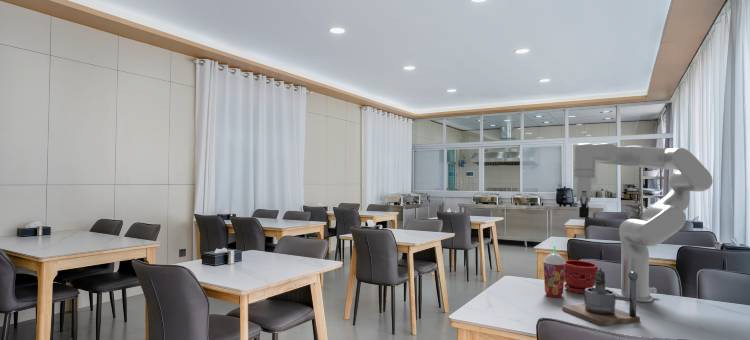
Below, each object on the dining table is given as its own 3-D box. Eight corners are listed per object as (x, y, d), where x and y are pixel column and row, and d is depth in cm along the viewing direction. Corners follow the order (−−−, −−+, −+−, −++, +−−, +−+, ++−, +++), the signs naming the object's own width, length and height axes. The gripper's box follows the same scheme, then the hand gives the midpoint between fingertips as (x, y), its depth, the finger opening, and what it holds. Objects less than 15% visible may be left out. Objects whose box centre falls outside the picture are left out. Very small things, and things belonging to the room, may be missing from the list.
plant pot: (559, 291, 181) (559, 263, 181) (567, 285, 192) (567, 258, 192) (593, 297, 173) (594, 267, 173) (600, 290, 184) (600, 262, 184)
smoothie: (566, 295, 176) (567, 246, 176) (563, 299, 169) (563, 248, 169) (545, 291, 180) (545, 243, 181) (540, 296, 173) (541, 246, 174)
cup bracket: (599, 306, 161) (599, 262, 161) (640, 321, 145) (640, 272, 145) (562, 310, 156) (562, 264, 156) (600, 326, 140) (600, 274, 140)
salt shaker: (593, 304, 148) (593, 269, 148) (588, 299, 154) (588, 265, 154) (612, 305, 147) (612, 270, 147) (606, 300, 153) (606, 266, 153)
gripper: (575, 174, 183) (574, 214, 183) (573, 173, 168) (572, 217, 167) (595, 174, 180) (594, 215, 179) (595, 174, 164) (594, 219, 164)
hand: (584, 216), depth 173 cm, fingers open, 9 cm apart
